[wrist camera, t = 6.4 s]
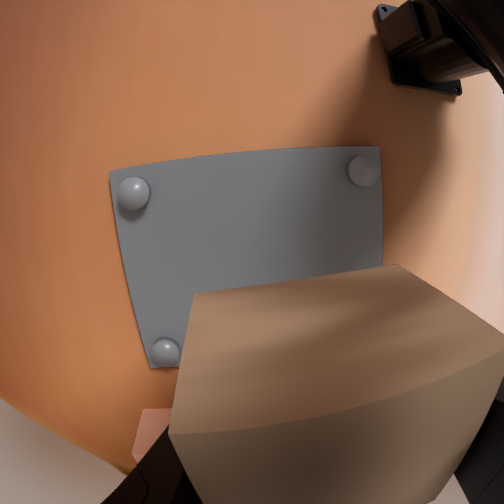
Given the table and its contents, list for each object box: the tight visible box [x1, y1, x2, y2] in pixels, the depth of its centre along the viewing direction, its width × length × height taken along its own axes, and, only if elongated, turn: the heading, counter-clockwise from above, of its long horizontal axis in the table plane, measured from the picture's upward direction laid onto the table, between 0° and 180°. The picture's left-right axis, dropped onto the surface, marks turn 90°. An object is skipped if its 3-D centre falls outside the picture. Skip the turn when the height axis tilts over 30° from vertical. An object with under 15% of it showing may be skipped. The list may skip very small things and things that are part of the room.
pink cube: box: [132, 408, 172, 463], centre depth 19 cm, size 6×6×5 cm
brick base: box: [168, 264, 504, 504], centre depth 7 cm, size 6×6×5 cm
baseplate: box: [109, 146, 383, 368], centre depth 18 cm, size 16×13×1 cm
